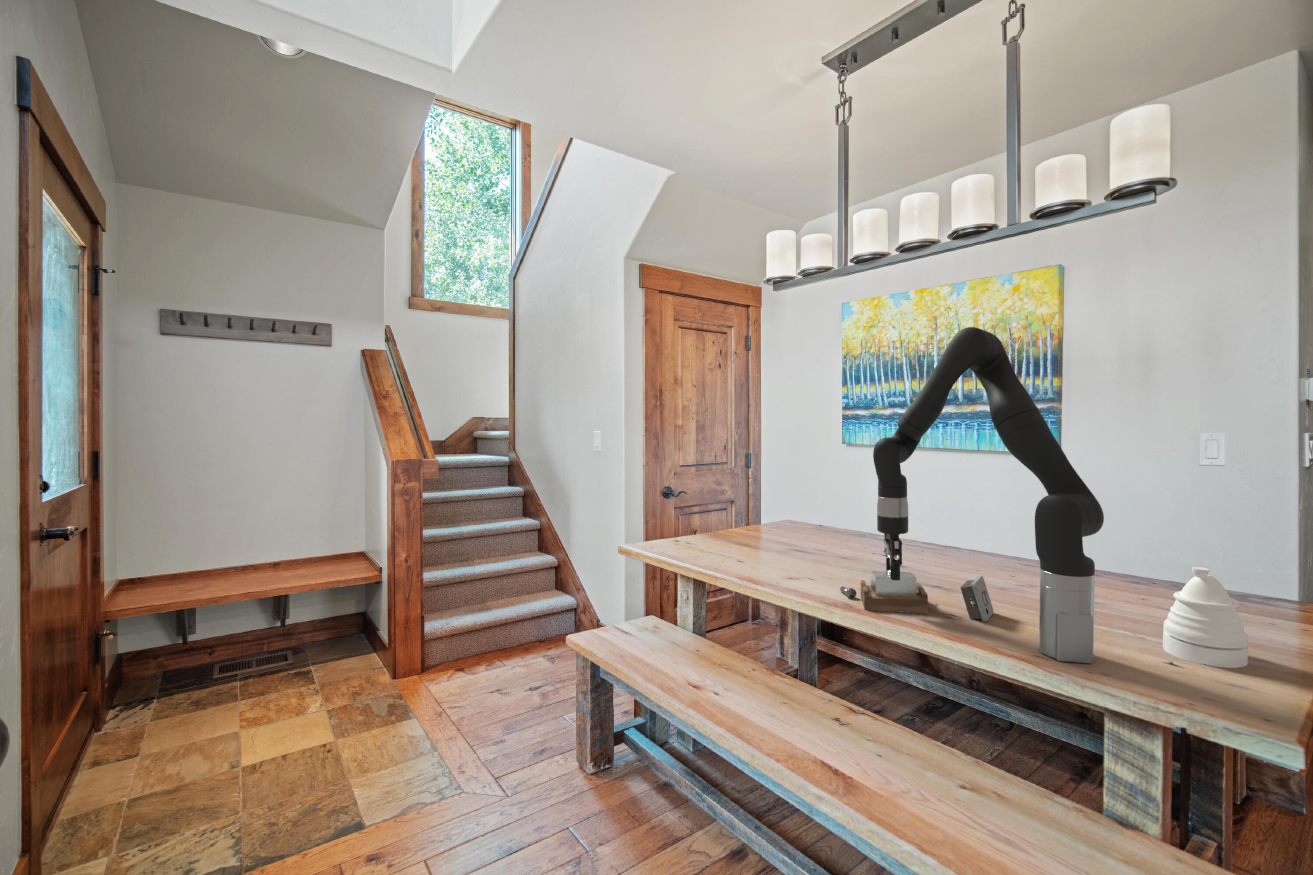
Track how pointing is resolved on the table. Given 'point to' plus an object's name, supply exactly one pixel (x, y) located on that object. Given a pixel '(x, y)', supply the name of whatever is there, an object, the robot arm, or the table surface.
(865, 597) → the brown wooden tray
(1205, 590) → the honey pot
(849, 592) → the bolt
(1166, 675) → the table surface
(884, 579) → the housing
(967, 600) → the electrical switch
